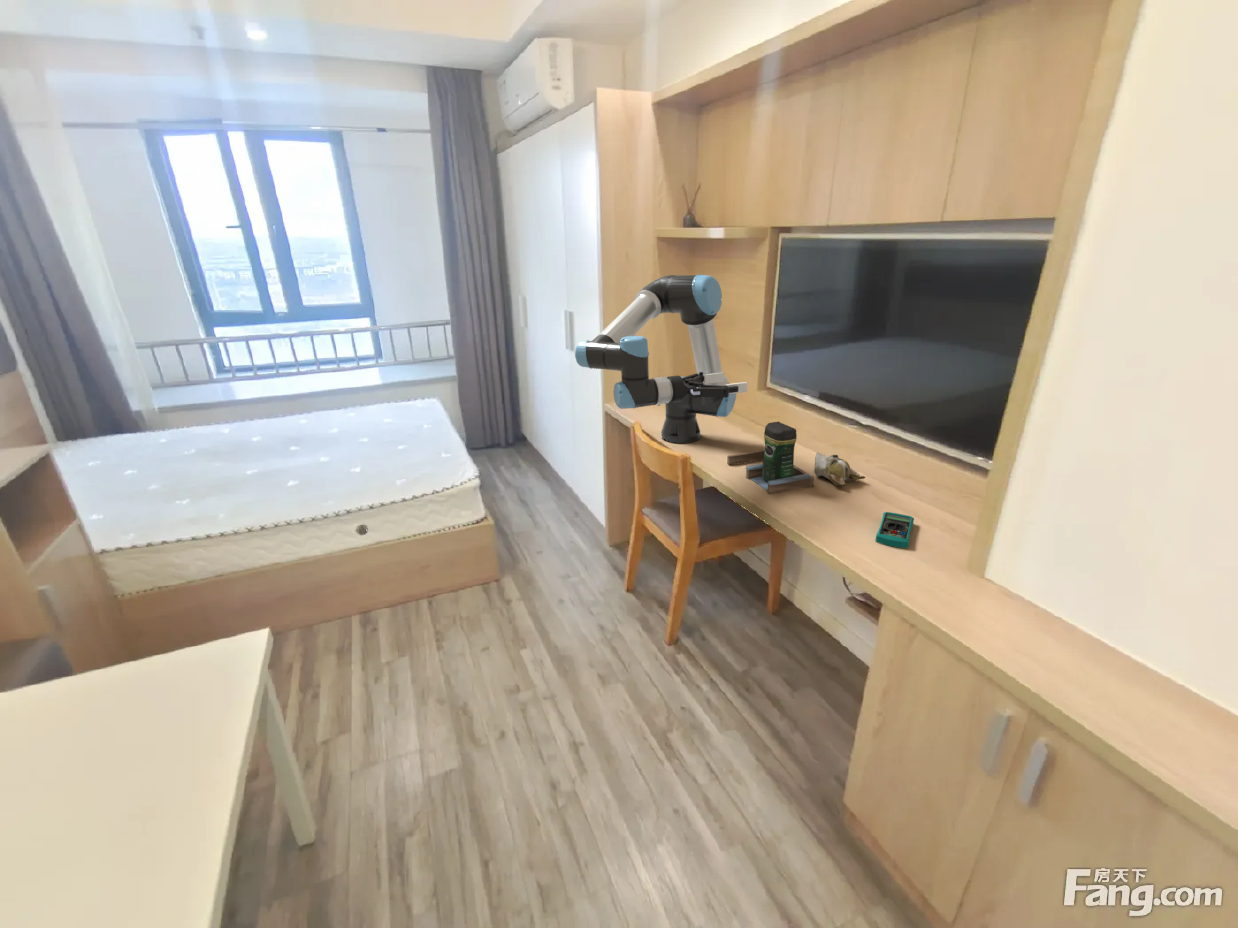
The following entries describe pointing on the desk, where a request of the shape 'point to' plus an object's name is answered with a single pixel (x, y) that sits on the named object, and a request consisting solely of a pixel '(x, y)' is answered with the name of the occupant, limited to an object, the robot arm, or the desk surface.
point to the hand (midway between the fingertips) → (734, 381)
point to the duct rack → (773, 486)
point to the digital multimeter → (895, 530)
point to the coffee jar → (778, 451)
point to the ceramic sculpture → (834, 469)
